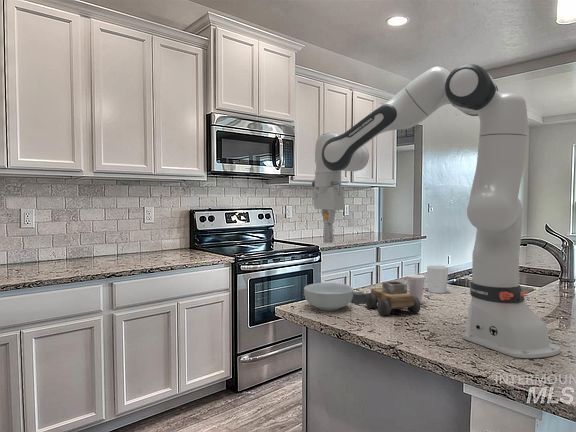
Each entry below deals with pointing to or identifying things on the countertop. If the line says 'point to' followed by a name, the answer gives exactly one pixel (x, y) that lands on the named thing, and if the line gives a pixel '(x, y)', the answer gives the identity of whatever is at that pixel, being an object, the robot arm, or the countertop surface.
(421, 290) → the smoothie
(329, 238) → the grey and orange cylinder
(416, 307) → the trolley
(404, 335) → the countertop surface
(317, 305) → the cereal bowl
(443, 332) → the countertop surface
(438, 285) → the white cup
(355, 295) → the dark grey cube
